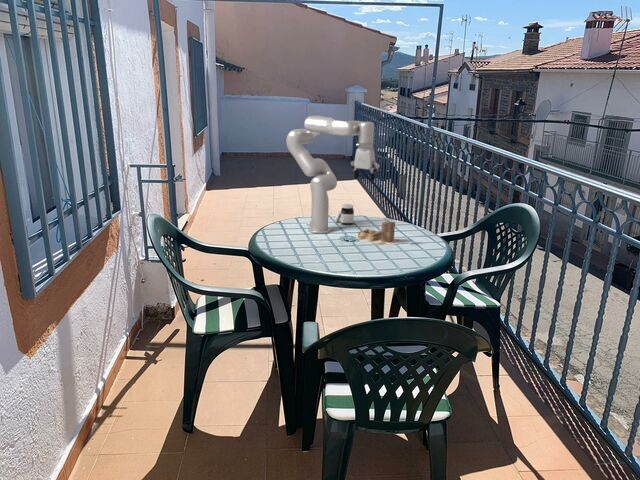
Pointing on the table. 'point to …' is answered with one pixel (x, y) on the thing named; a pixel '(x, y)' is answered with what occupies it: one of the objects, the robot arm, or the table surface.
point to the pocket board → (374, 237)
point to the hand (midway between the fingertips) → (364, 179)
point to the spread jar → (346, 215)
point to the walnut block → (387, 231)
